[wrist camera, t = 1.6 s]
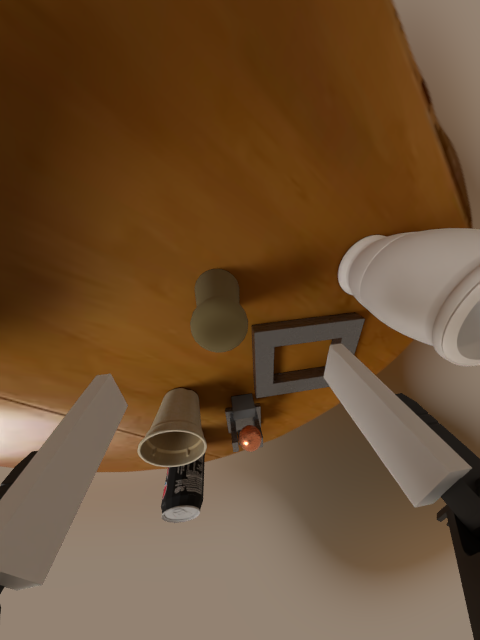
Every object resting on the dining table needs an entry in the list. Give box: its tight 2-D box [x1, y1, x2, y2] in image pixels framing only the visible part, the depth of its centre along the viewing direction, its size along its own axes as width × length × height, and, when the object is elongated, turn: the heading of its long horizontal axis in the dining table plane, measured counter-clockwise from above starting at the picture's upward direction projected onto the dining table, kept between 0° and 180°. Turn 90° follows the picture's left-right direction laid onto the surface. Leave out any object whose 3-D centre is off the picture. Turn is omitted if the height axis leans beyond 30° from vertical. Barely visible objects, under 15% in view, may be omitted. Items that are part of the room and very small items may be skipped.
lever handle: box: [237, 425, 261, 452], centre depth 30 cm, size 15×3×3 cm, turn 4°
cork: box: [190, 269, 248, 352], centre depth 20 cm, size 6×6×11 cm
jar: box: [338, 228, 480, 366], centre depth 19 cm, size 11×10×15 cm
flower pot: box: [138, 388, 207, 467], centre depth 30 cm, size 9×9×9 cm
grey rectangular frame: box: [252, 312, 365, 398], centre depth 31 cm, size 17×14×2 cm
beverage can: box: [161, 438, 205, 523], centre depth 34 cm, size 7×7×12 cm
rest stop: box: [231, 394, 255, 420], centre depth 34 cm, size 4×2×3 cm, turn 94°
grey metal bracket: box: [225, 403, 263, 452], centre depth 36 cm, size 7×7×6 cm
